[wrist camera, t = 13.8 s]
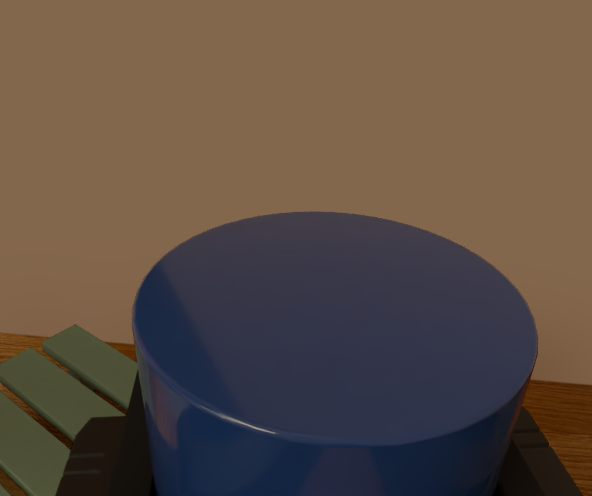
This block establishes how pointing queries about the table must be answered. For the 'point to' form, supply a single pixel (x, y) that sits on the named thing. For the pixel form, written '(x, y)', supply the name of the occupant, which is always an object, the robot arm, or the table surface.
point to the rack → (57, 404)
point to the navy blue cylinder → (329, 361)
